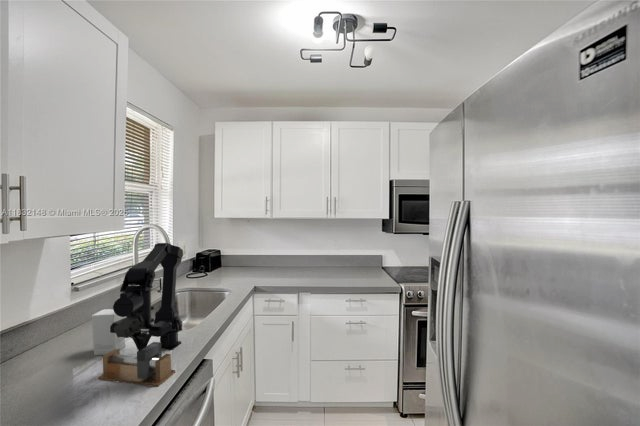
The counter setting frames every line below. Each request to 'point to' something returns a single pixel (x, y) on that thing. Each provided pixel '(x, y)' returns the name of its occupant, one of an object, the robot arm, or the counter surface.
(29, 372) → the counter surface
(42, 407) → the counter surface
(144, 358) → the collar
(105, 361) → the pipe rig
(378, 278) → the counter surface
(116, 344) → the skincare box
